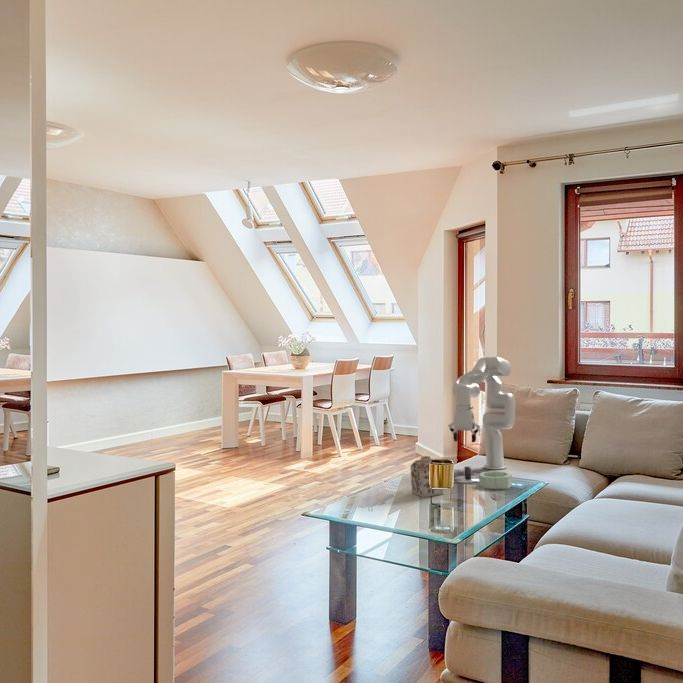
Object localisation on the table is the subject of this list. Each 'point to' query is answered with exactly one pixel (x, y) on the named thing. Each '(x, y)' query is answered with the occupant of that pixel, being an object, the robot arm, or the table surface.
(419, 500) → the table surface
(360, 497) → the table surface
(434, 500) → the table surface
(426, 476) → the decorative jar
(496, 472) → the bowl
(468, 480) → the lid
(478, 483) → the mat
